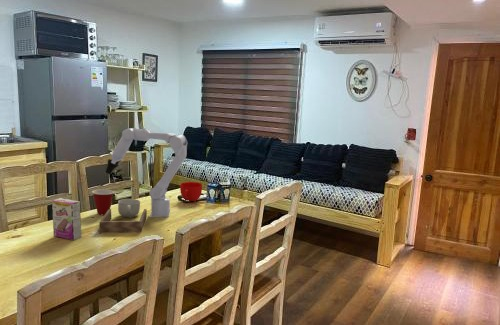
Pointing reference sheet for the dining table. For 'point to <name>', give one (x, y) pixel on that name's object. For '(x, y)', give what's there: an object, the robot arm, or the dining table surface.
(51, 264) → the dining table surface
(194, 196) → the ceramic cup
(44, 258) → the dining table surface
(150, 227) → the dining table surface
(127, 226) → the cubby
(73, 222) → the candy bar box
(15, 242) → the dining table surface
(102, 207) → the plastic cup
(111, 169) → the robot arm
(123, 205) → the teacup
